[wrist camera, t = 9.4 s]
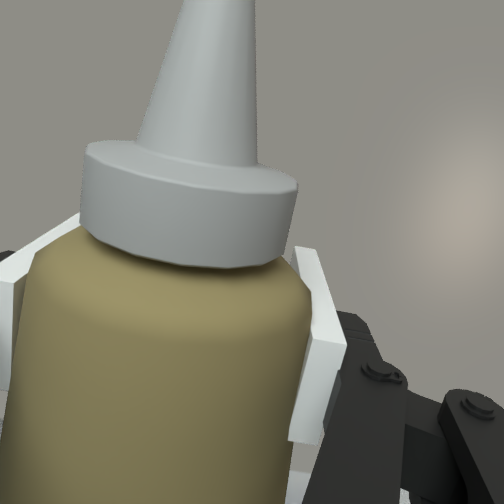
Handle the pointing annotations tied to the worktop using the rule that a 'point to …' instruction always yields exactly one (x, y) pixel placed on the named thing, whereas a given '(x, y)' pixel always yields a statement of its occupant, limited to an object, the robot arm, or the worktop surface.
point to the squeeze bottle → (166, 303)
